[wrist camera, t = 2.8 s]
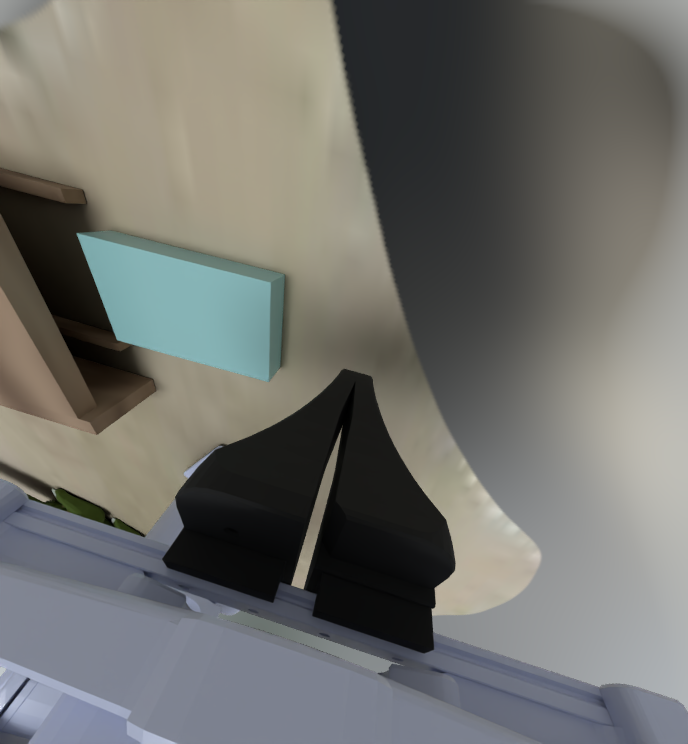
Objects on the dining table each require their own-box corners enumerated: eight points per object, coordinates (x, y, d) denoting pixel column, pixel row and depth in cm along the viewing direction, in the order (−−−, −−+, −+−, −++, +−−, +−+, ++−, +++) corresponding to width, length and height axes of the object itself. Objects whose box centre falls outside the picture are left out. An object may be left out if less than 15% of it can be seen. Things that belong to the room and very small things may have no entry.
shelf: (96, 193, 13) (-41, 186, 9) (156, 390, 20) (96, 434, 16) (-65, 150, 13) (-266, 126, 9) (52, 360, 21) (-30, 396, 17)
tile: (288, 272, 14) (270, 282, 12) (282, 363, 17) (268, 382, 15) (118, 229, 14) (76, 233, 12) (146, 326, 17) (117, 340, 16)
